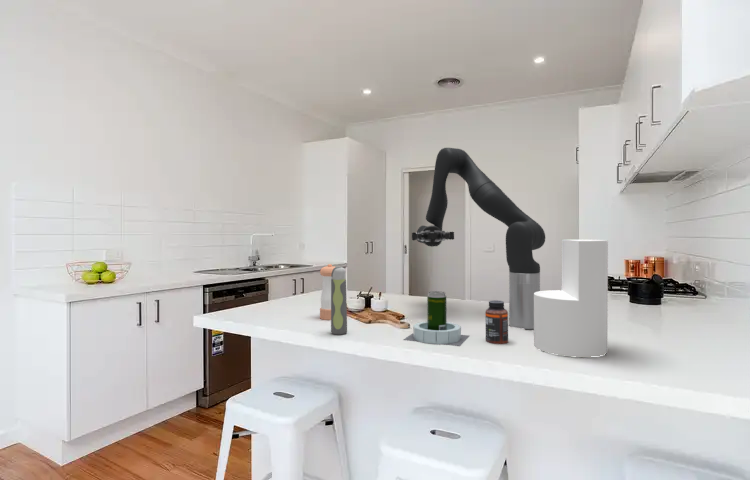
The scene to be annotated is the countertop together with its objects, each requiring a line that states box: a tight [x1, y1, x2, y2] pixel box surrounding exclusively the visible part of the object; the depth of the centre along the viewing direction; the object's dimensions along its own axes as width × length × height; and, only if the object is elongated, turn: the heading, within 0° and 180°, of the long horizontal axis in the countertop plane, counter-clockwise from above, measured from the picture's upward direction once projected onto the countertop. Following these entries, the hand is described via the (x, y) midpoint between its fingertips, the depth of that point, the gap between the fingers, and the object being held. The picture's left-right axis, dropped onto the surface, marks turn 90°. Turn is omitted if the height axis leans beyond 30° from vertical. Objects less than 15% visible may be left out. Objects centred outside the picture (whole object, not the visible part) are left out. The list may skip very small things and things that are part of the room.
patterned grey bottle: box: [330, 266, 348, 336], centre depth 126 cm, size 5×5×20 cm
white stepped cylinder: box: [533, 239, 609, 357], centre depth 108 cm, size 17×17×28 cm
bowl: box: [412, 320, 462, 345], centre depth 118 cm, size 13×13×3 cm
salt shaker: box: [319, 263, 336, 321], centre depth 148 cm, size 7×7×19 cm
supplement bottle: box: [484, 299, 509, 345], centre depth 114 cm, size 6×6×11 cm
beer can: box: [426, 290, 448, 330], centre depth 118 cm, size 5×5×12 cm
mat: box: [402, 333, 470, 347], centre depth 118 cm, size 16×12×1 cm
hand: (433, 236), depth 136 cm, fingers open, 8 cm apart
